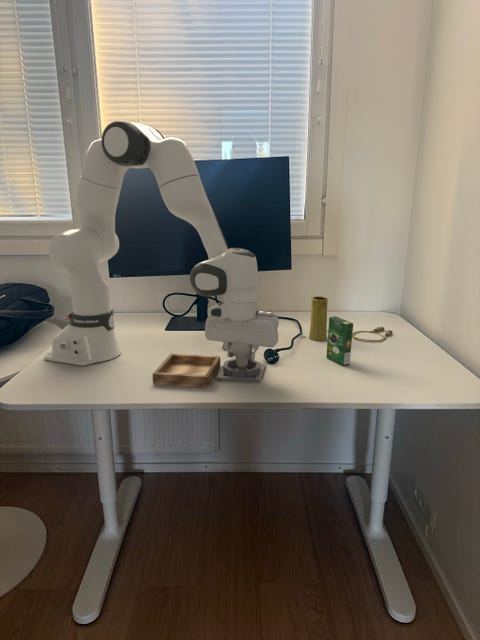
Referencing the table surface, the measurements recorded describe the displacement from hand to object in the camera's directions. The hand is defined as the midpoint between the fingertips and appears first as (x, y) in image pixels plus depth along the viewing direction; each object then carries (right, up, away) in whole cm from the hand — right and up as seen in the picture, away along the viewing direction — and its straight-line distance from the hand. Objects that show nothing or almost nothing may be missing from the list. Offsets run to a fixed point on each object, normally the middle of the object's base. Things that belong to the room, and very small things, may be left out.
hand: (241, 358), depth 122 cm
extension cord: (+46, +4, +32) cm, 57 cm away
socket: (0, -4, +2) cm, 5 cm away
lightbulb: (0, -5, +2) cm, 5 cm away
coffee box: (+29, -2, +10) cm, 31 cm away
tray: (-15, -5, +1) cm, 15 cm away
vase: (+27, +4, +30) cm, 41 cm away
